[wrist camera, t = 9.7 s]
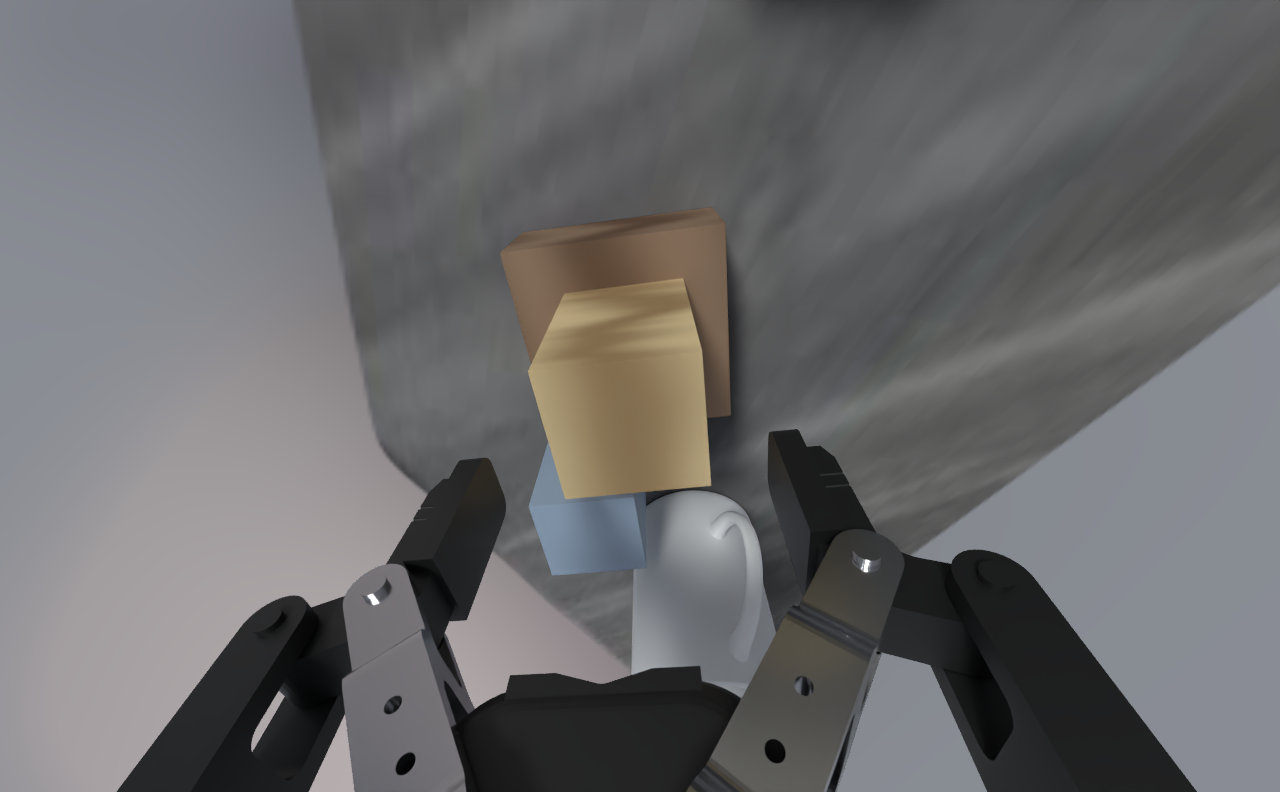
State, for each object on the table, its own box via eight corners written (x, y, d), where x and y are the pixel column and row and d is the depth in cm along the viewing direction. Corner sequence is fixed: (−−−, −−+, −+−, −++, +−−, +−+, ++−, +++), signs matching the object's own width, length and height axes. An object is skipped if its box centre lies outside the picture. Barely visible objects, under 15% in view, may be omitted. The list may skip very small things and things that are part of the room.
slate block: (635, 414, 27) (633, 497, 21) (645, 477, 29) (646, 568, 23) (553, 422, 27) (528, 506, 21) (570, 484, 30) (552, 575, 24)
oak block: (683, 278, 19) (702, 351, 13) (691, 383, 21) (711, 485, 15) (564, 293, 19) (527, 371, 13) (586, 394, 22) (565, 499, 16)
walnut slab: (711, 207, 21) (725, 223, 17) (718, 376, 26) (730, 415, 22) (522, 232, 22) (499, 252, 18) (562, 393, 26) (550, 433, 23)
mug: (678, 436, 28) (699, 620, 17) (799, 475, 29) (883, 665, 19) (614, 556, 33) (601, 748, 23) (718, 584, 35) (749, 775, 25)
